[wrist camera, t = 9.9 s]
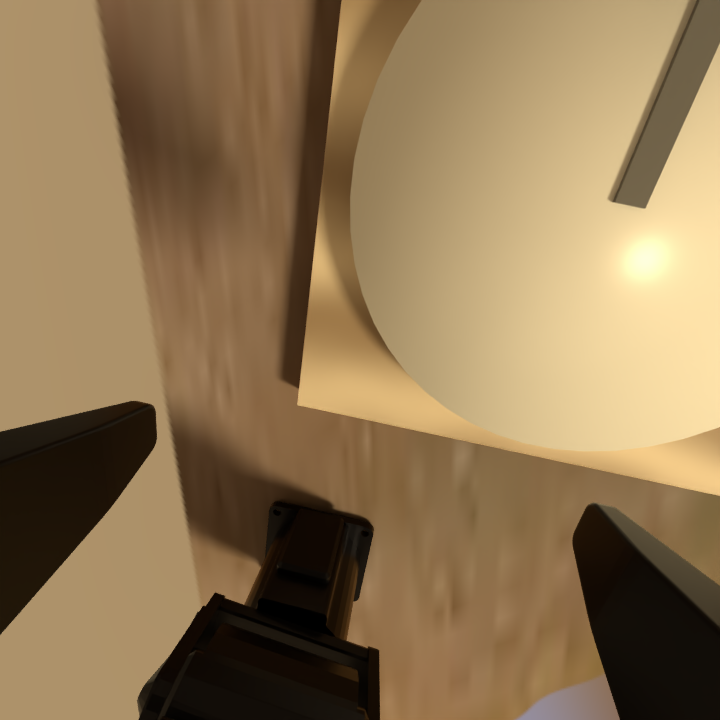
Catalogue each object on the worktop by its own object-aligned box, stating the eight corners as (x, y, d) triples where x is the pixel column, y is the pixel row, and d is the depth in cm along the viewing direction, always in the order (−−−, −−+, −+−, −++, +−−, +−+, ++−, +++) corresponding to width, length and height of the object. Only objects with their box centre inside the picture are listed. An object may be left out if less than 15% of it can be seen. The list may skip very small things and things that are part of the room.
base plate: (727, 481, 20) (769, 518, 17) (305, 392, 21) (291, 414, 19) (1116, -122, 11) (1296, -209, 9) (373, -189, 13) (362, -276, 11)
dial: (724, 477, 18) (880, 614, 12) (322, 377, 19) (275, 455, 13) (1115, -85, 10) (2055, -485, 4) (423, -189, 12) (425, -617, 6)
